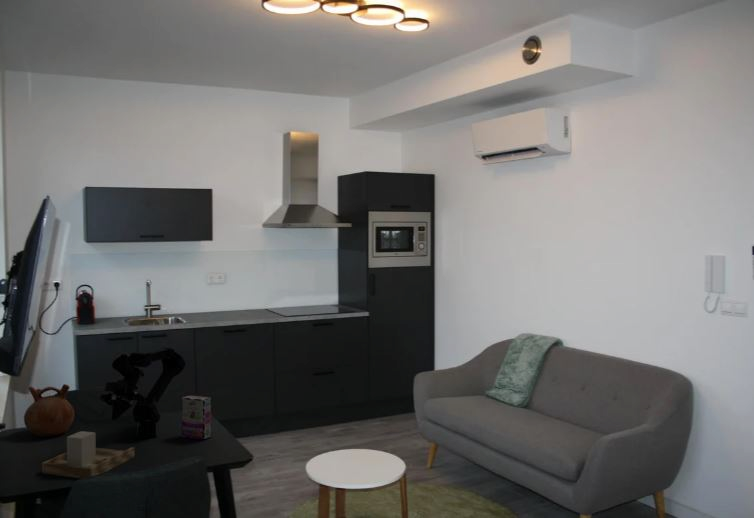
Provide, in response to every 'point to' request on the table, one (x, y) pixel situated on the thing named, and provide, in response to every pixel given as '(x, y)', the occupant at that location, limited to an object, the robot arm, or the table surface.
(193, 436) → the candy bar box
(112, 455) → the wooden tray
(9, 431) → the table surface
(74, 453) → the cream block
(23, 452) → the table surface
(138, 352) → the robot arm
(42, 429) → the jug
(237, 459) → the table surface
